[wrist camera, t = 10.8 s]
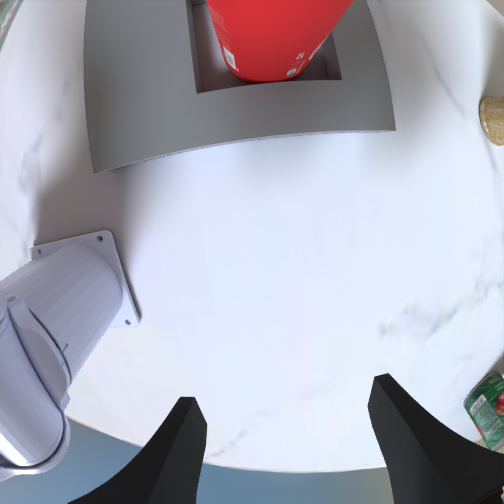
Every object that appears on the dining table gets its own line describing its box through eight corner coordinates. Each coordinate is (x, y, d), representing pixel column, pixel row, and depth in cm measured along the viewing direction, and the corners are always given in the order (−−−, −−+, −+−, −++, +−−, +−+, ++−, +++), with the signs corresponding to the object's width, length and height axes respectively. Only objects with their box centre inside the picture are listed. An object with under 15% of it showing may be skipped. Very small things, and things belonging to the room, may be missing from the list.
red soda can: (245, 14, 13) (240, -115, 1) (318, 43, 14) (398, -65, 2) (210, 73, 14) (146, -39, 3) (286, 104, 15) (352, 18, 4)
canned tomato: (504, 363, 25) (538, 406, 14) (491, 392, 27) (518, 433, 17) (469, 386, 26) (502, 437, 15) (458, 414, 28) (483, 460, 18)
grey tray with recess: (112, 169, 16) (94, 173, 14) (103, -2, 11) (89, -14, 9) (378, 132, 16) (395, 130, 13) (334, -38, 10) (342, -54, 8)
